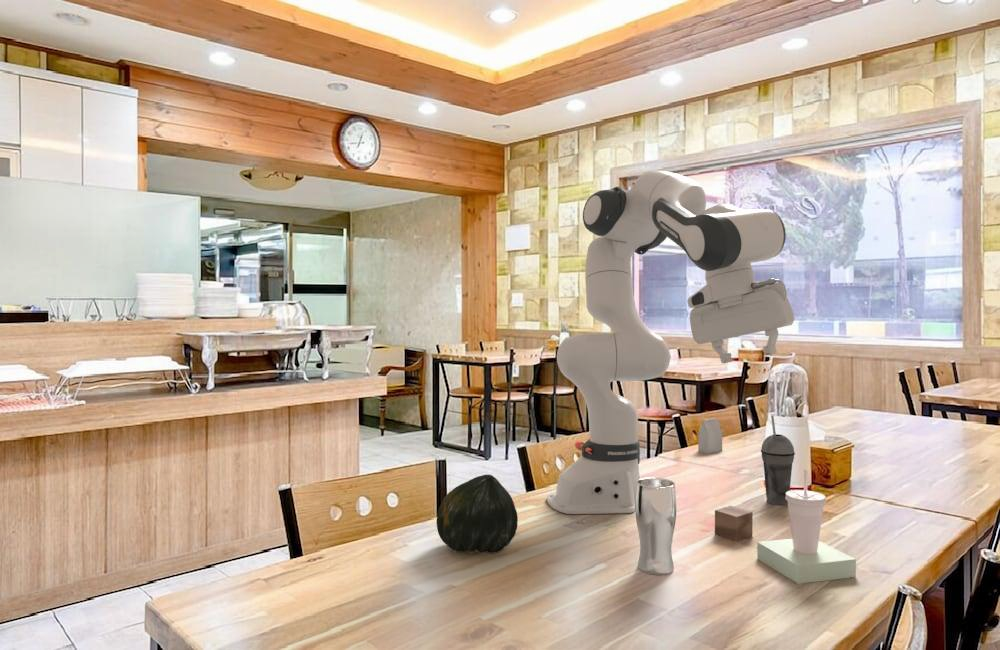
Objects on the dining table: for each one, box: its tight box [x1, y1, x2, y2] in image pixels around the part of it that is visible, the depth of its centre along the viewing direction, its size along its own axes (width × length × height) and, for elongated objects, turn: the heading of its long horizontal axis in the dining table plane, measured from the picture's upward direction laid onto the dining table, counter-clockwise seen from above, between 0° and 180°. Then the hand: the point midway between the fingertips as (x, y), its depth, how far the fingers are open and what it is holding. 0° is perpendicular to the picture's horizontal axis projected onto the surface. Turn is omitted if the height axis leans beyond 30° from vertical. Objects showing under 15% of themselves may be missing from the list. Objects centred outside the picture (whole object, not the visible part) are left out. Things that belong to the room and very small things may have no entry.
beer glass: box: [634, 477, 677, 576], centre depth 114 cm, size 7×7×15 cm
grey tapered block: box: [697, 417, 723, 454], centre depth 204 cm, size 4×7×10 cm, turn 125°
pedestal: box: [756, 538, 857, 584], centre depth 114 cm, size 11×11×3 cm
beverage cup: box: [760, 414, 796, 506], centre depth 151 cm, size 7×7×20 cm
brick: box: [714, 505, 754, 543], centre depth 130 cm, size 5×5×5 cm
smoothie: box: [785, 468, 827, 554], centre depth 114 cm, size 6×6×14 cm
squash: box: [436, 474, 519, 554], centre depth 124 cm, size 14×15×15 cm
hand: (748, 358), depth 127 cm, fingers open, 8 cm apart
